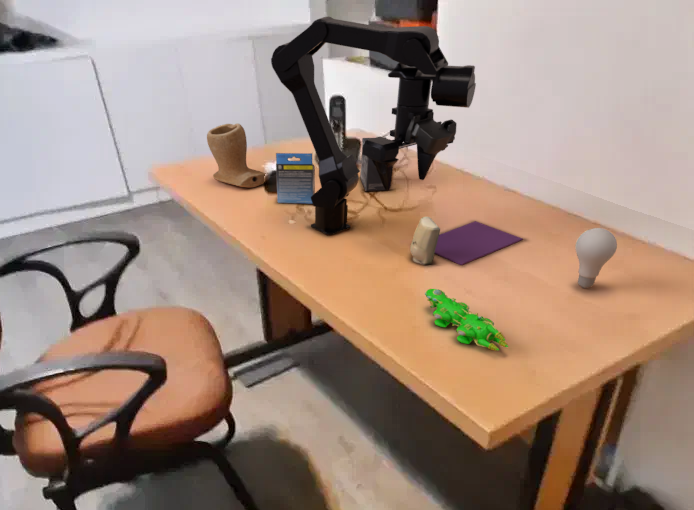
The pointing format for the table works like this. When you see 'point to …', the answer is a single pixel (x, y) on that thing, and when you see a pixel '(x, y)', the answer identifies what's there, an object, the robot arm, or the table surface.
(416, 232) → the grey rounded block
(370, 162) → the small box
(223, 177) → the tan boot-shaped vase
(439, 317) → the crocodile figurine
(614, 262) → the table surface
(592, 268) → the lightbulb
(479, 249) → the felt cloth
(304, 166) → the tape cartridge
